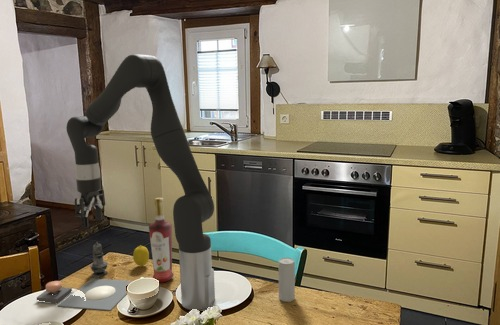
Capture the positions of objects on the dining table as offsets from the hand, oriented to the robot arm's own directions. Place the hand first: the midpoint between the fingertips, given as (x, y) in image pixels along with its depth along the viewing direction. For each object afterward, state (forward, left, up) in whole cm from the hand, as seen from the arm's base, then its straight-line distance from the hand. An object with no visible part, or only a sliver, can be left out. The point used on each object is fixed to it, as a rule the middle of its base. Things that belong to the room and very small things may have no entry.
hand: (92, 223), depth 134 cm
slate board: (-8, +12, -19) cm, 24 cm away
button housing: (+5, +16, -19) cm, 25 cm away
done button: (+5, +16, -17) cm, 24 cm away
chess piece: (0, -1, -19) cm, 19 cm away
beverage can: (-66, +7, -19) cm, 69 cm away
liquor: (-24, 0, -19) cm, 31 cm away
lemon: (-12, -9, -19) cm, 24 cm away
